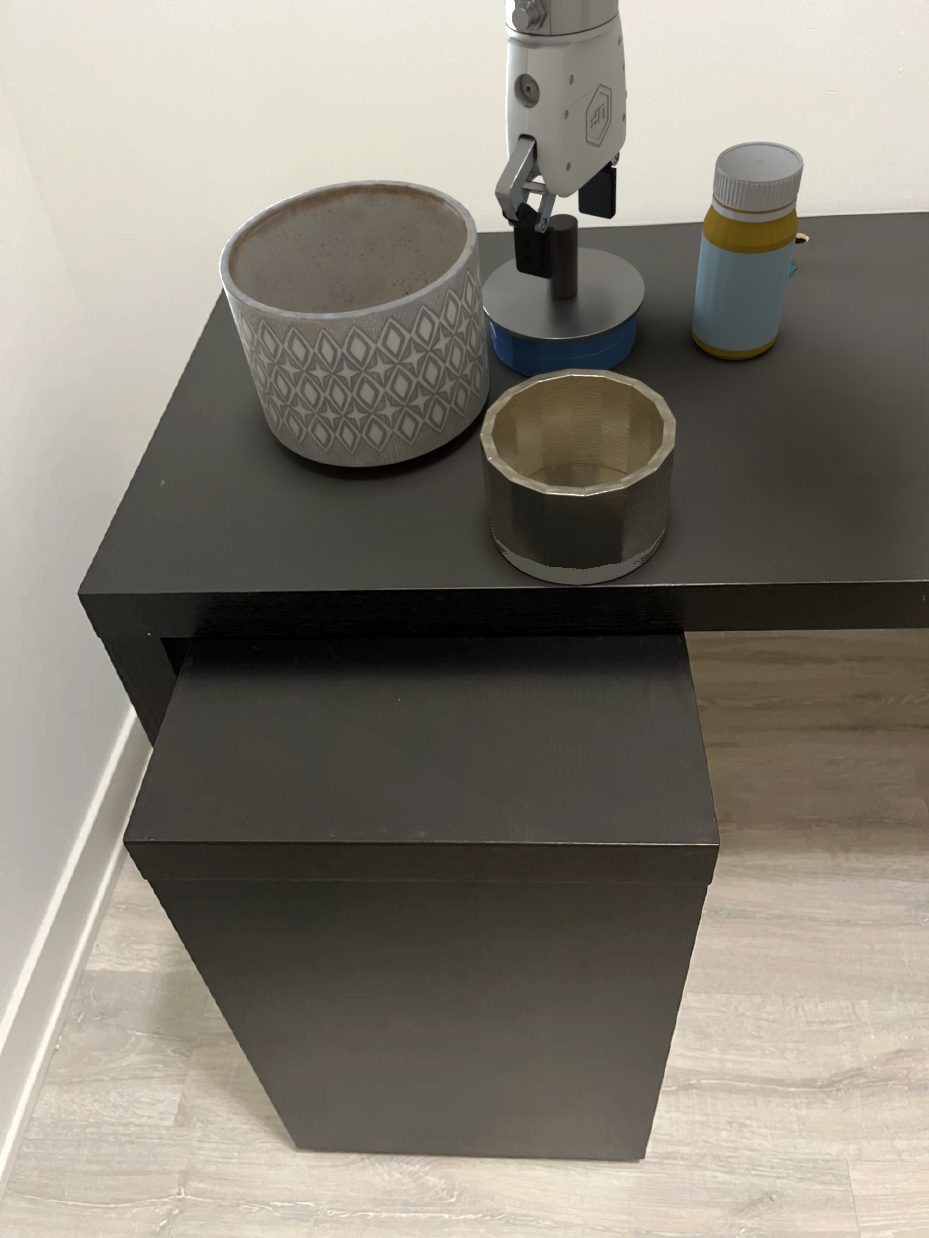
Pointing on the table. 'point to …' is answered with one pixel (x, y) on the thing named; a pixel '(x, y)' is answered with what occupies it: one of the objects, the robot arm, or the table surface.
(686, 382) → the table surface
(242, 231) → the planter
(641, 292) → the lid
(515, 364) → the pan
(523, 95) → the robot arm
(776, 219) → the bottle
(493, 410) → the pot
